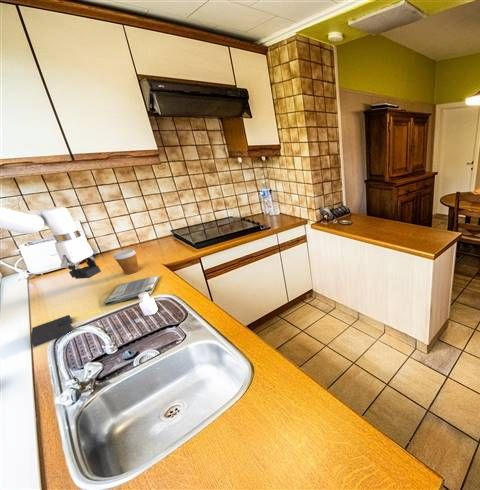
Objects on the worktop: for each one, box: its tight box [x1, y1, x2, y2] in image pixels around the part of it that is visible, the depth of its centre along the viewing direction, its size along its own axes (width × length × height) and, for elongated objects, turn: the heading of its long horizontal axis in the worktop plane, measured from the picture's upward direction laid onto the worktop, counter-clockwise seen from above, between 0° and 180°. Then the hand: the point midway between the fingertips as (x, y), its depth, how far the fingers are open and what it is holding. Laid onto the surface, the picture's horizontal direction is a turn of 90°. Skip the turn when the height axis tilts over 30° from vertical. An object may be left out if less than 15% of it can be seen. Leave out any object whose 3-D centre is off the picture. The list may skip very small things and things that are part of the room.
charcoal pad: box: [30, 314, 74, 348], centre depth 102 cm, size 12×10×3 cm
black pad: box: [68, 265, 102, 280], centre depth 120 cm, size 6×9×3 cm, turn 92°
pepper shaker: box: [138, 292, 159, 317], centre depth 110 cm, size 4×4×10 cm
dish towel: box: [103, 275, 160, 307], centre depth 128 cm, size 19×18×3 cm
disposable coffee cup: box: [112, 248, 140, 275], centre depth 146 cm, size 10×10×12 cm
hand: (87, 272), depth 120 cm, fingers closed on black pad, 6 cm apart
